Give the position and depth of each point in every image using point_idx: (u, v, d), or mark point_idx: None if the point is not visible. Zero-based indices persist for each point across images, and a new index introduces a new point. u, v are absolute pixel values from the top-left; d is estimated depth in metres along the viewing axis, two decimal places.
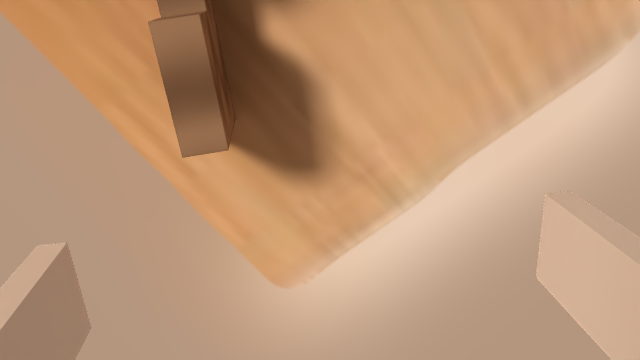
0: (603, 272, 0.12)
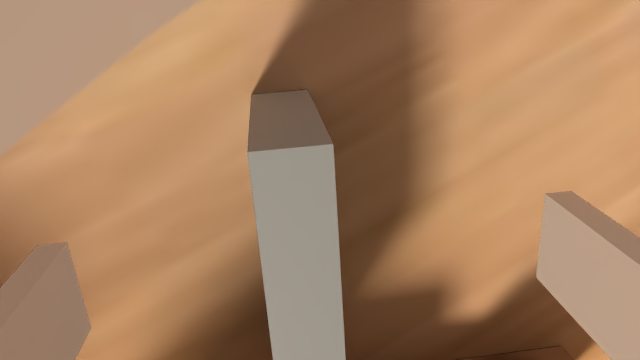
0: (603, 272, 0.12)
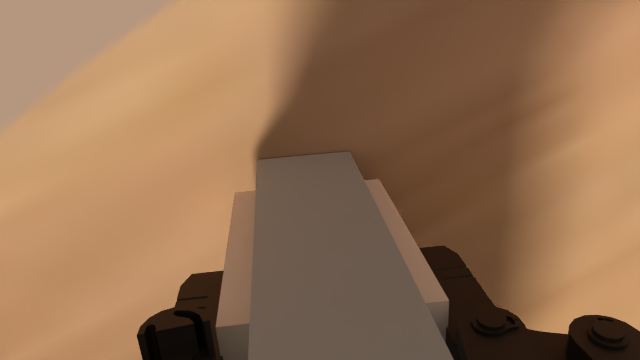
0: None
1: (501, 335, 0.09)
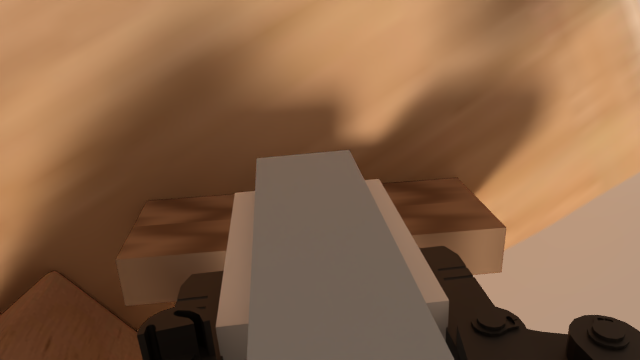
0: None
1: (501, 335, 0.09)
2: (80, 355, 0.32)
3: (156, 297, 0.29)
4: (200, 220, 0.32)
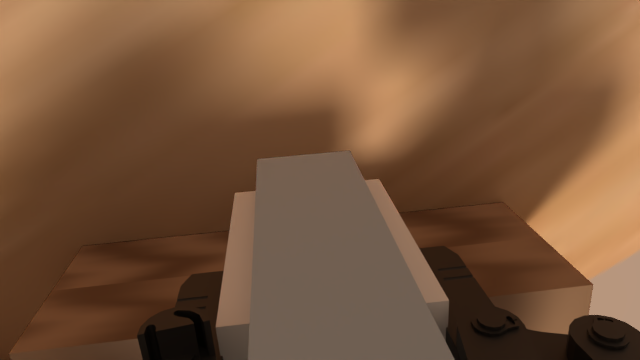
0: None
1: (501, 335, 0.09)
2: None
3: None
4: (148, 277, 0.22)
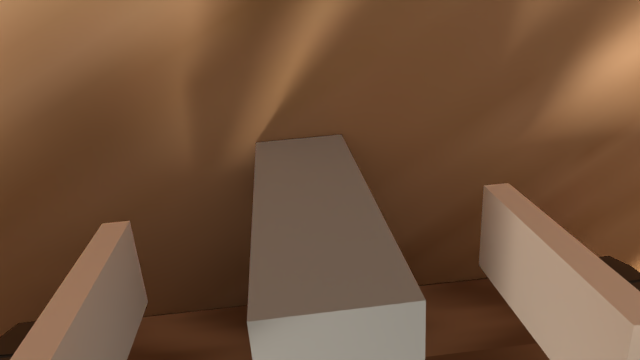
0: (526, 257, 0.12)
1: None
2: None
3: None
4: None
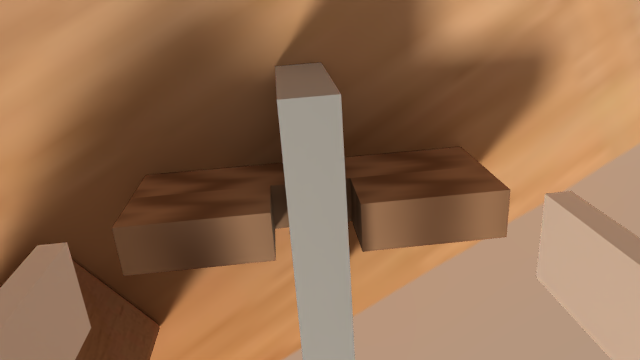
0: (603, 273, 0.12)
1: None
2: None
3: (154, 266, 0.28)
4: (198, 190, 0.31)
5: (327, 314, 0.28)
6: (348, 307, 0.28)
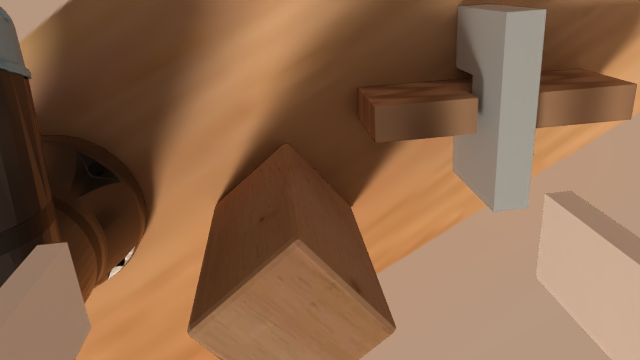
0: (603, 273, 0.12)
1: None
2: (323, 193, 0.45)
3: (396, 136, 0.41)
4: (410, 92, 0.44)
5: (515, 168, 0.41)
6: (529, 162, 0.41)
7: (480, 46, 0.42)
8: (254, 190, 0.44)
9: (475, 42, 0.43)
